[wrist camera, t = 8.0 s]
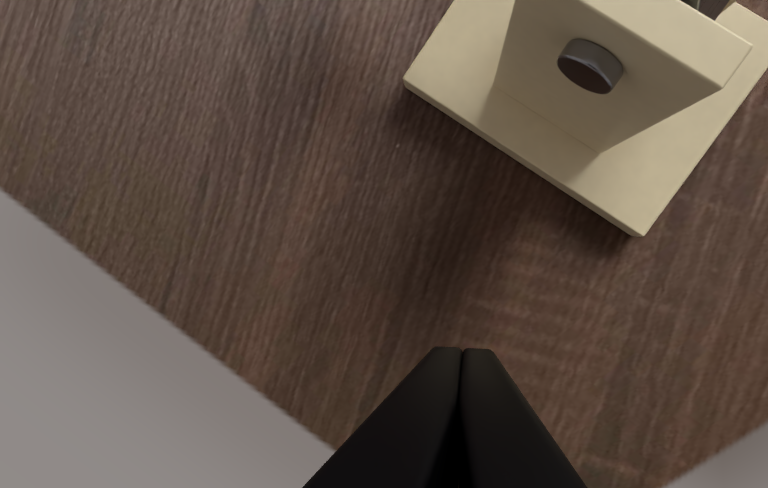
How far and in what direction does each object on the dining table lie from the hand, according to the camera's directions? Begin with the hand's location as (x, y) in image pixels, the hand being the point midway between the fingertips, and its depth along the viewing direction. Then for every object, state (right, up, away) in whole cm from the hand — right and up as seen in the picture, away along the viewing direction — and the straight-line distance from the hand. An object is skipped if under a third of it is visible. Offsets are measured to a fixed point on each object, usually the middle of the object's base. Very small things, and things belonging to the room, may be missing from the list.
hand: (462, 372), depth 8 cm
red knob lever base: (+6, +8, +12) cm, 16 cm away
